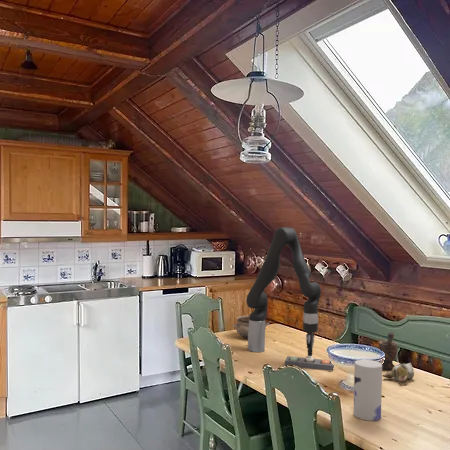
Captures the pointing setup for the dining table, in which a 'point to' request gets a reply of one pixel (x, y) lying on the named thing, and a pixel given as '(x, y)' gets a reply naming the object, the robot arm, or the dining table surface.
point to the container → (367, 389)
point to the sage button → (294, 358)
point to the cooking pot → (243, 326)
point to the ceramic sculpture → (401, 372)
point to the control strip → (309, 364)
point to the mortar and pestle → (388, 351)
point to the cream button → (310, 359)
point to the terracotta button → (325, 362)
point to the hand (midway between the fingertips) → (309, 355)
